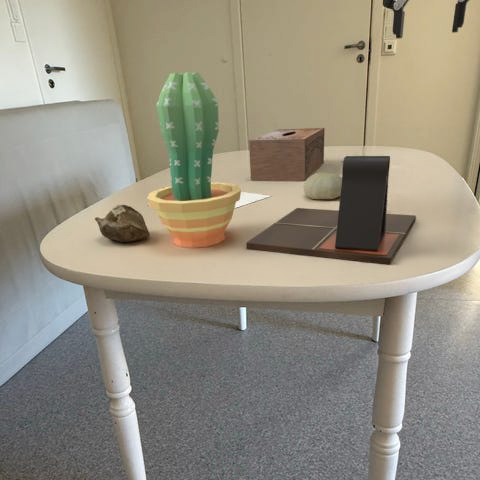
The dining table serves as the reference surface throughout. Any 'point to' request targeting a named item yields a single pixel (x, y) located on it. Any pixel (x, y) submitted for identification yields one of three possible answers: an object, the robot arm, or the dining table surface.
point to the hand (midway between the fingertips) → (426, 35)
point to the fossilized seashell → (123, 224)
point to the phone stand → (363, 203)
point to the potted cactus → (192, 165)
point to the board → (328, 236)
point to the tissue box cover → (286, 154)
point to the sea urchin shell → (323, 186)
